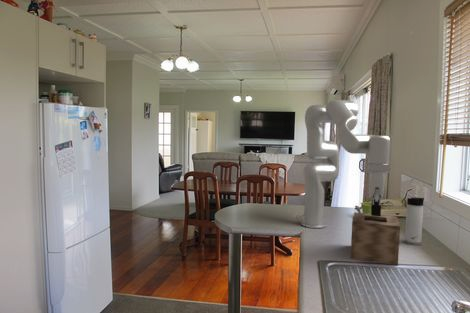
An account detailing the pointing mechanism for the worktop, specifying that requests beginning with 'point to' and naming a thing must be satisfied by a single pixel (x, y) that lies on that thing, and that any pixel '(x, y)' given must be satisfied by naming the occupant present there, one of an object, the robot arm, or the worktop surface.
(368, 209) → the plant pot
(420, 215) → the travel mug
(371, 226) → the box
